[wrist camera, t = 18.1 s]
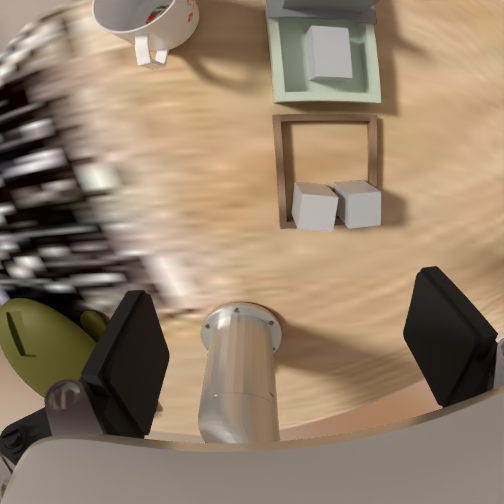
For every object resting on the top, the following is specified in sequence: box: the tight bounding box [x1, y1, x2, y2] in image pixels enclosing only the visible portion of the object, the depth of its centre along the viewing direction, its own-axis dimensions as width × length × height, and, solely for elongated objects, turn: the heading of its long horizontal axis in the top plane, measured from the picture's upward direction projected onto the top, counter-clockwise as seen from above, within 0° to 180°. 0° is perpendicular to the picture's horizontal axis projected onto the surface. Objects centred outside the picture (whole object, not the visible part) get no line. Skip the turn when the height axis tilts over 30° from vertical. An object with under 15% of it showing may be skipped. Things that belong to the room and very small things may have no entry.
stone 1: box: [305, 26, 353, 82], centre depth 27 cm, size 4×4×6 cm
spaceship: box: [0, 298, 156, 411], centre depth 47 cm, size 35×31×10 cm
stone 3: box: [334, 180, 381, 229], centre depth 34 cm, size 4×4×6 cm
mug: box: [92, 0, 199, 70], centre depth 23 cm, size 12×9×11 cm
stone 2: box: [291, 182, 339, 232], centre depth 34 cm, size 4×4×6 cm
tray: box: [273, 114, 377, 229], centre depth 35 cm, size 14×13×1 cm
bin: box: [265, 4, 381, 103], centre depth 27 cm, size 12×12×4 cm
